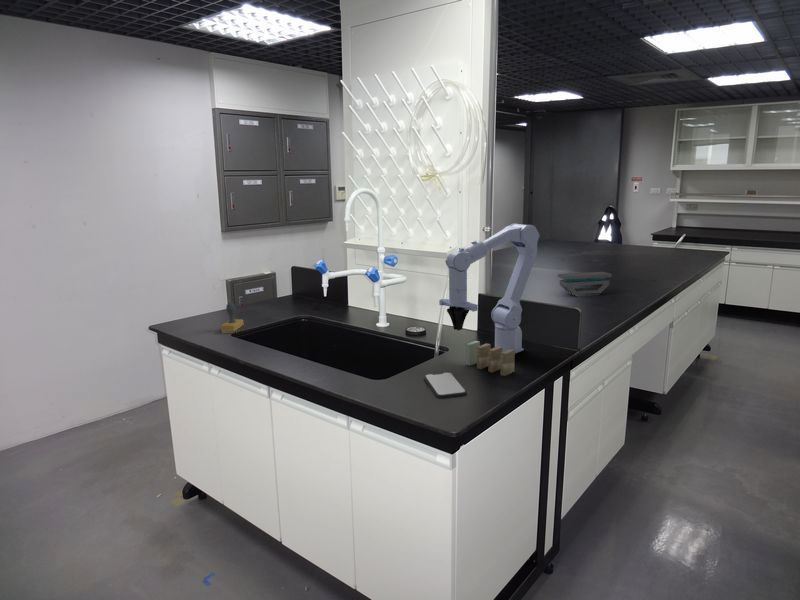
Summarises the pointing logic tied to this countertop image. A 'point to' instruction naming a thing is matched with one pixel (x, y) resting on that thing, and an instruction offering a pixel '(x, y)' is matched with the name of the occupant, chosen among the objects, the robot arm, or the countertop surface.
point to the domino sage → (471, 352)
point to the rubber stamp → (231, 320)
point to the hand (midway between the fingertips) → (458, 329)
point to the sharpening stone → (585, 282)
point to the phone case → (444, 385)
